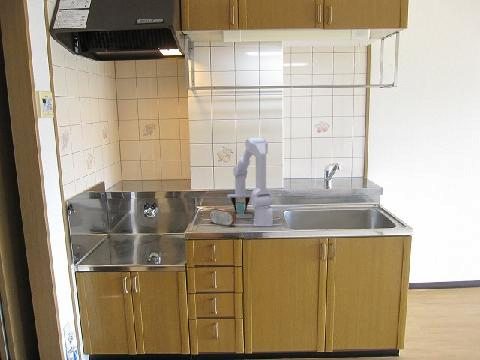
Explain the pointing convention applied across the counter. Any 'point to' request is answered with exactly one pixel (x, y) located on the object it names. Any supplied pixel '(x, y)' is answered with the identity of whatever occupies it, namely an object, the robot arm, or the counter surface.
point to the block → (240, 207)
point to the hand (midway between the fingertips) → (240, 210)
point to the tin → (222, 216)
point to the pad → (243, 216)
